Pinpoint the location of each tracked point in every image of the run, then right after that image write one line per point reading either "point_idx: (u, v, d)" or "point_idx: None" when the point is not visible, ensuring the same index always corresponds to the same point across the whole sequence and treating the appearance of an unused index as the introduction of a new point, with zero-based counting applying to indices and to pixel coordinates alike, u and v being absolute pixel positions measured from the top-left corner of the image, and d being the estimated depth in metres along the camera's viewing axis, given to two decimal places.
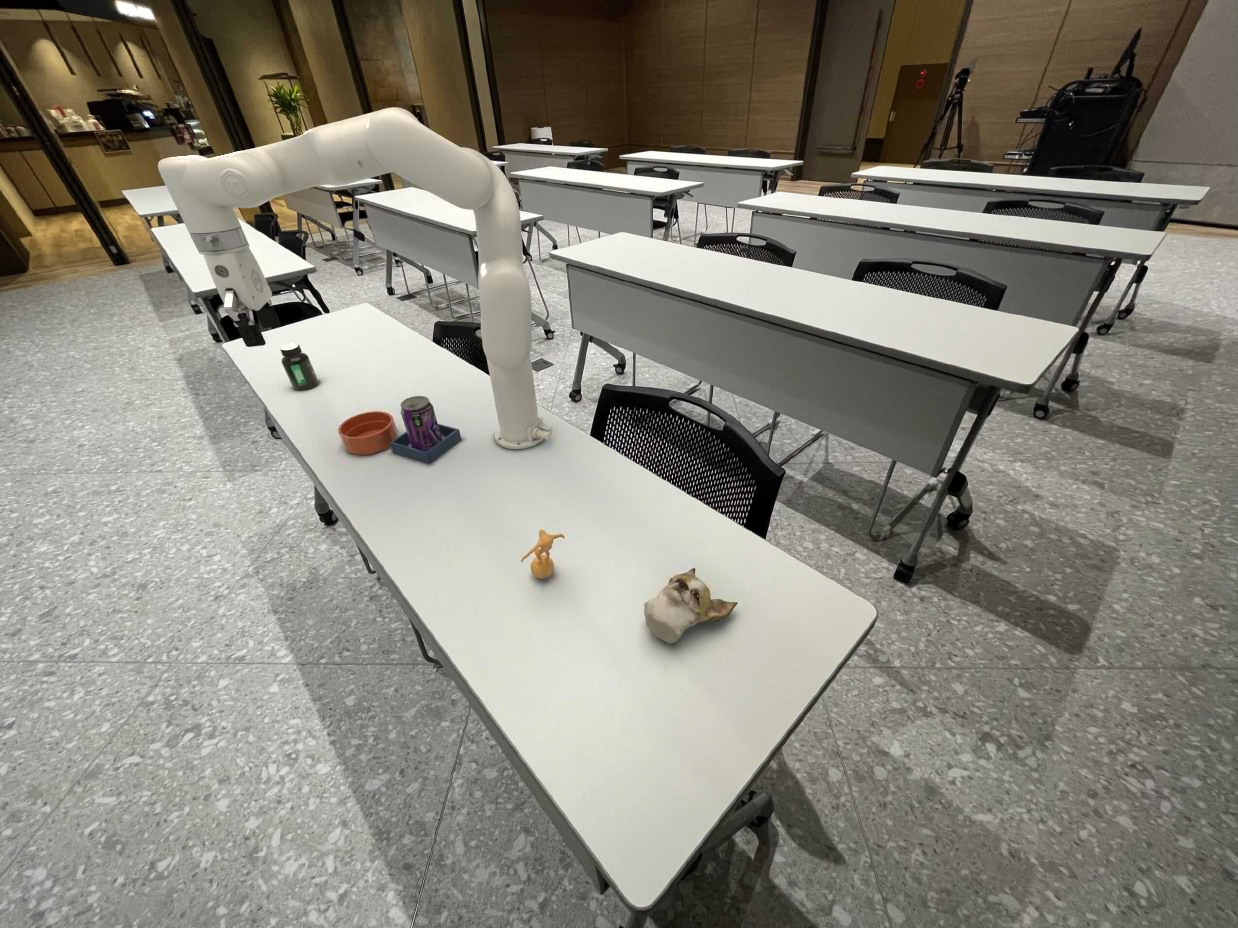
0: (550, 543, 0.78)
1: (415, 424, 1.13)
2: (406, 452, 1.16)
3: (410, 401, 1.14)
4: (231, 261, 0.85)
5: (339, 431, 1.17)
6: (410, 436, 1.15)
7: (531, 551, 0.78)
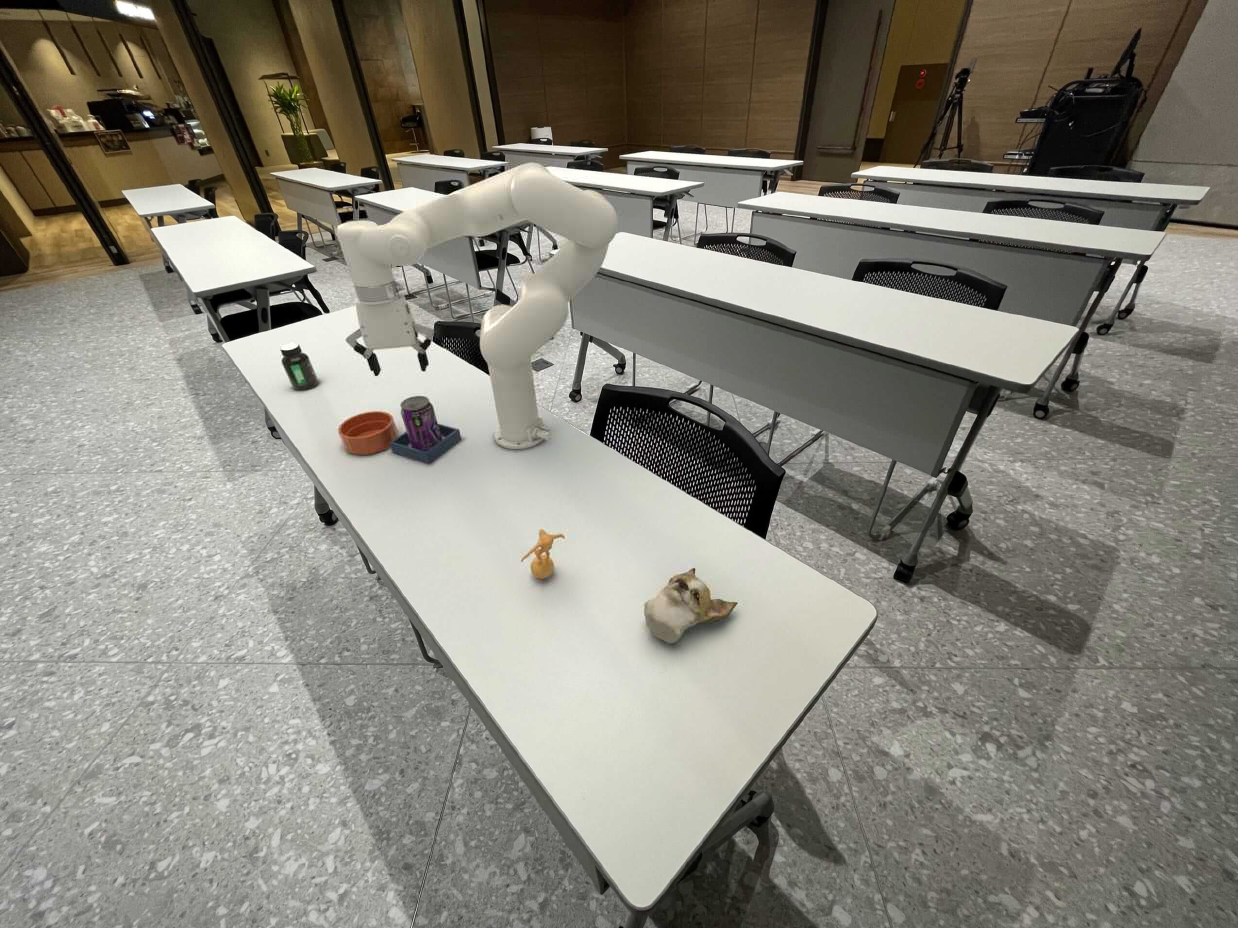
0: (550, 543, 0.78)
1: (415, 424, 1.13)
2: (406, 452, 1.16)
3: (410, 401, 1.14)
4: None
5: (339, 431, 1.17)
6: (410, 436, 1.15)
7: (531, 551, 0.78)
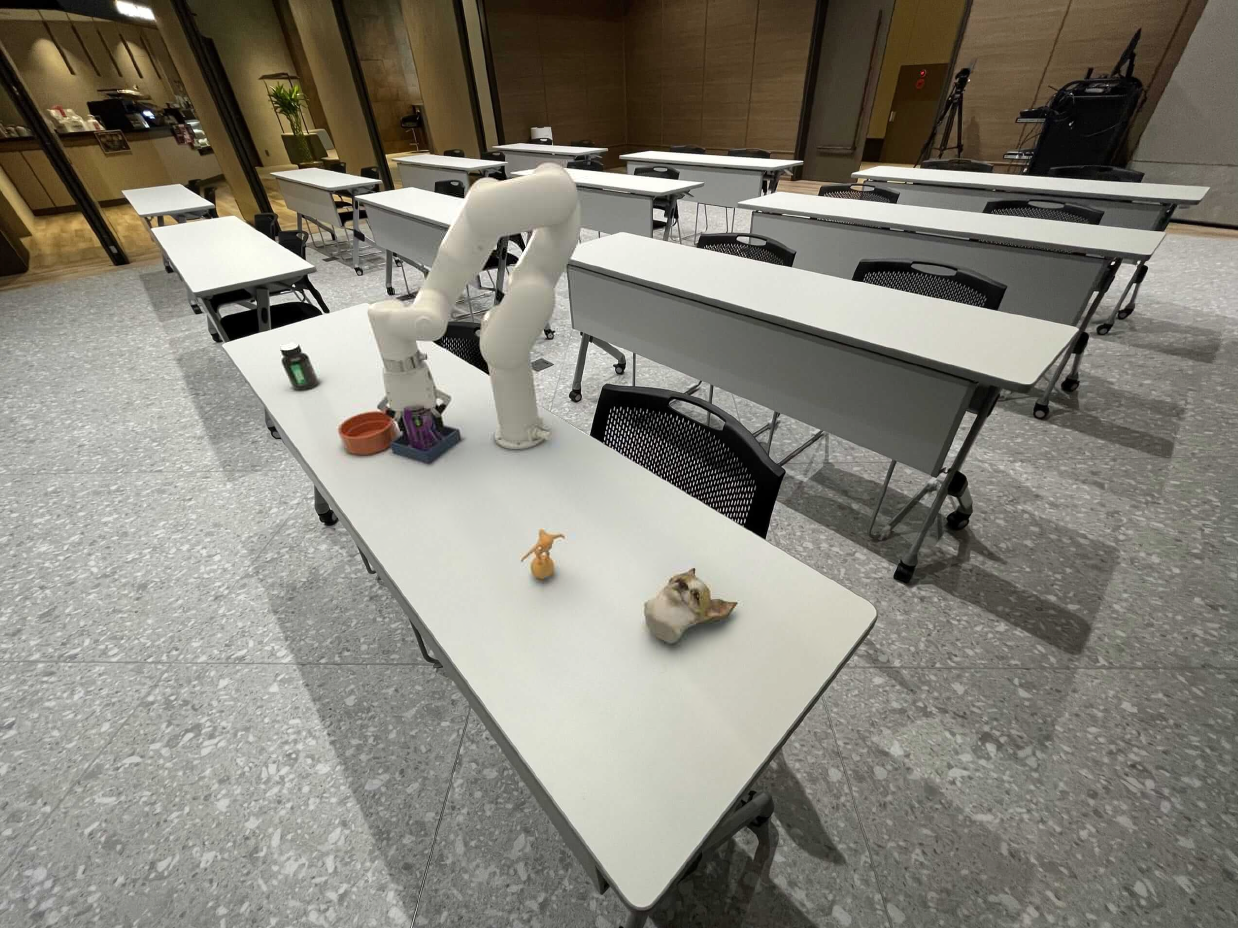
0: (550, 543, 0.78)
1: (415, 424, 1.13)
2: (406, 452, 1.16)
3: None
4: None
5: (339, 431, 1.17)
6: (410, 436, 1.15)
7: (531, 551, 0.78)
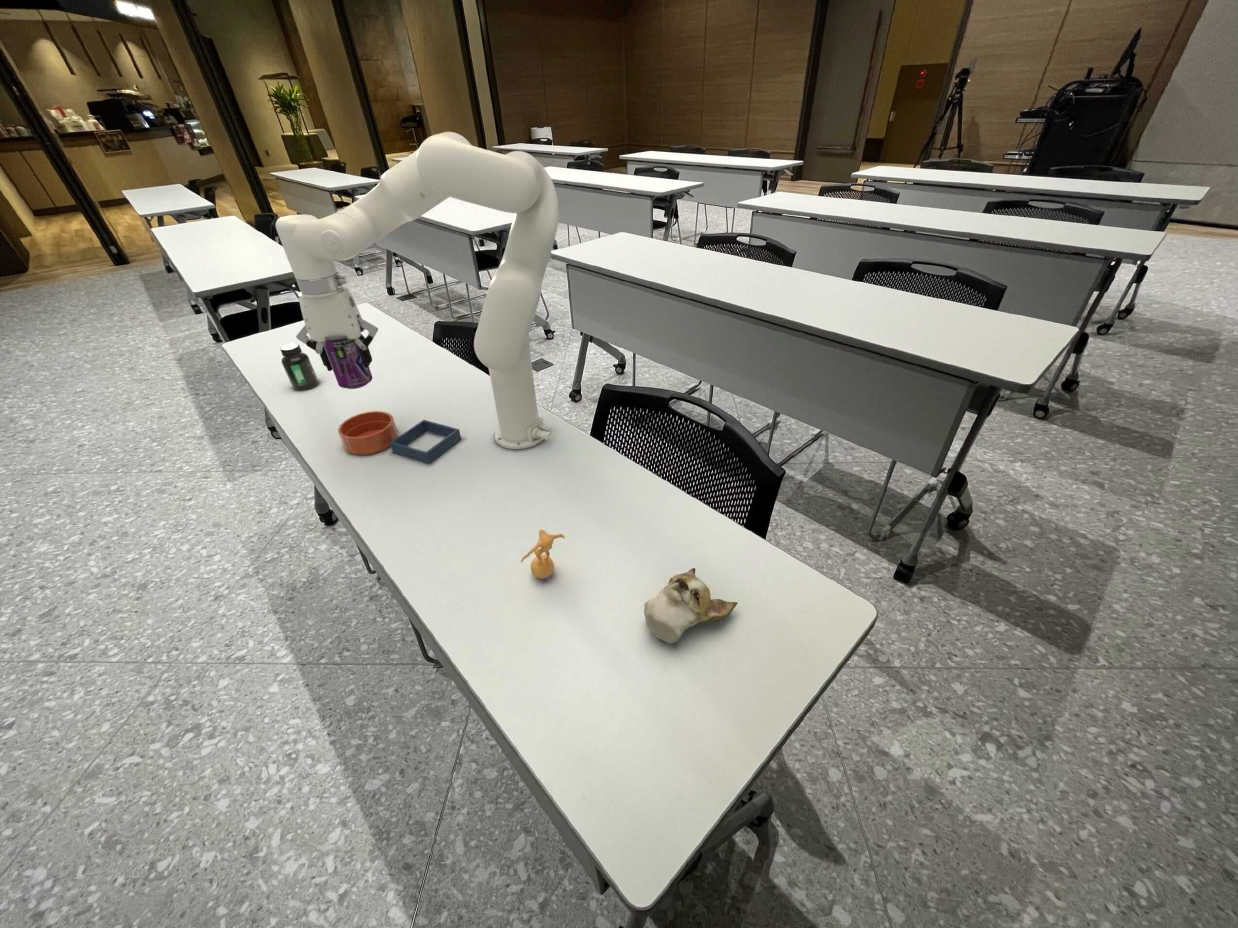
0: (550, 543, 0.78)
1: (337, 355, 1.05)
2: (406, 452, 1.16)
3: None
4: (349, 292, 1.04)
5: (339, 431, 1.17)
6: (334, 370, 1.08)
7: (531, 551, 0.78)
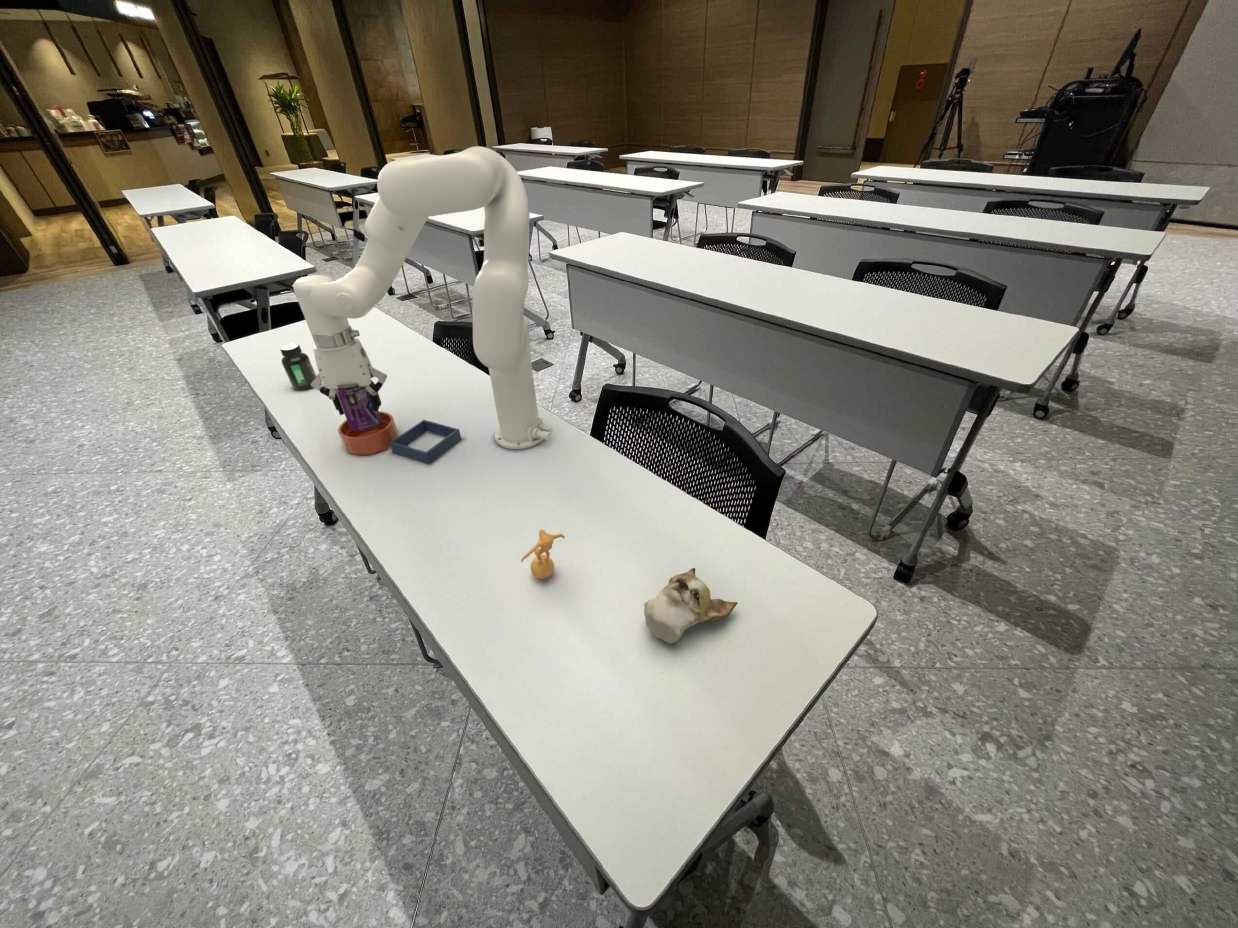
0: (550, 543, 0.78)
1: (349, 401, 1.12)
2: (406, 452, 1.16)
3: None
4: (360, 343, 1.10)
5: (339, 431, 1.17)
6: (346, 414, 1.15)
7: (531, 551, 0.78)
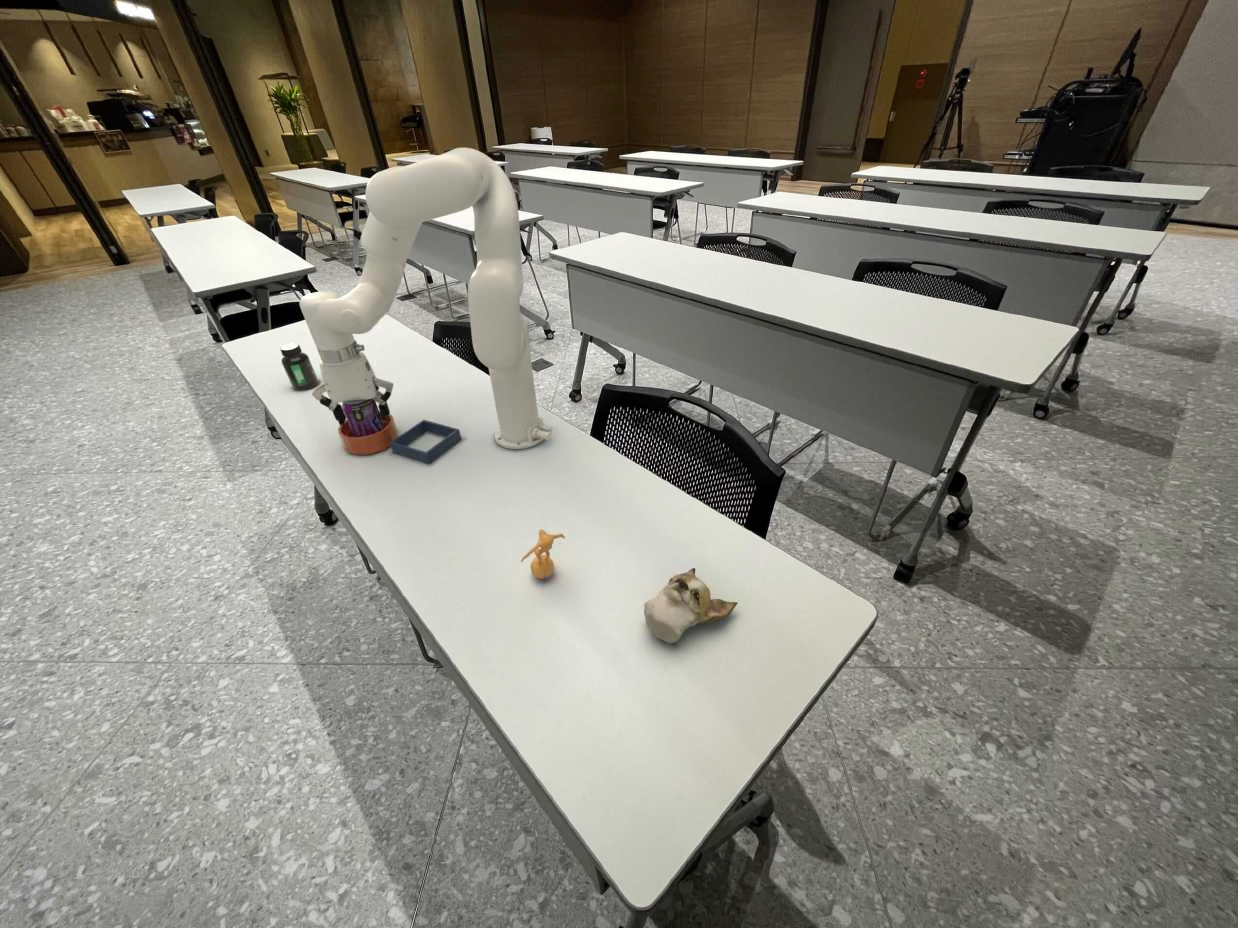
0: (550, 543, 0.78)
1: (355, 417, 1.14)
2: (406, 452, 1.16)
3: None
4: (365, 356, 1.12)
5: (339, 431, 1.17)
6: (352, 430, 1.17)
7: (531, 551, 0.78)
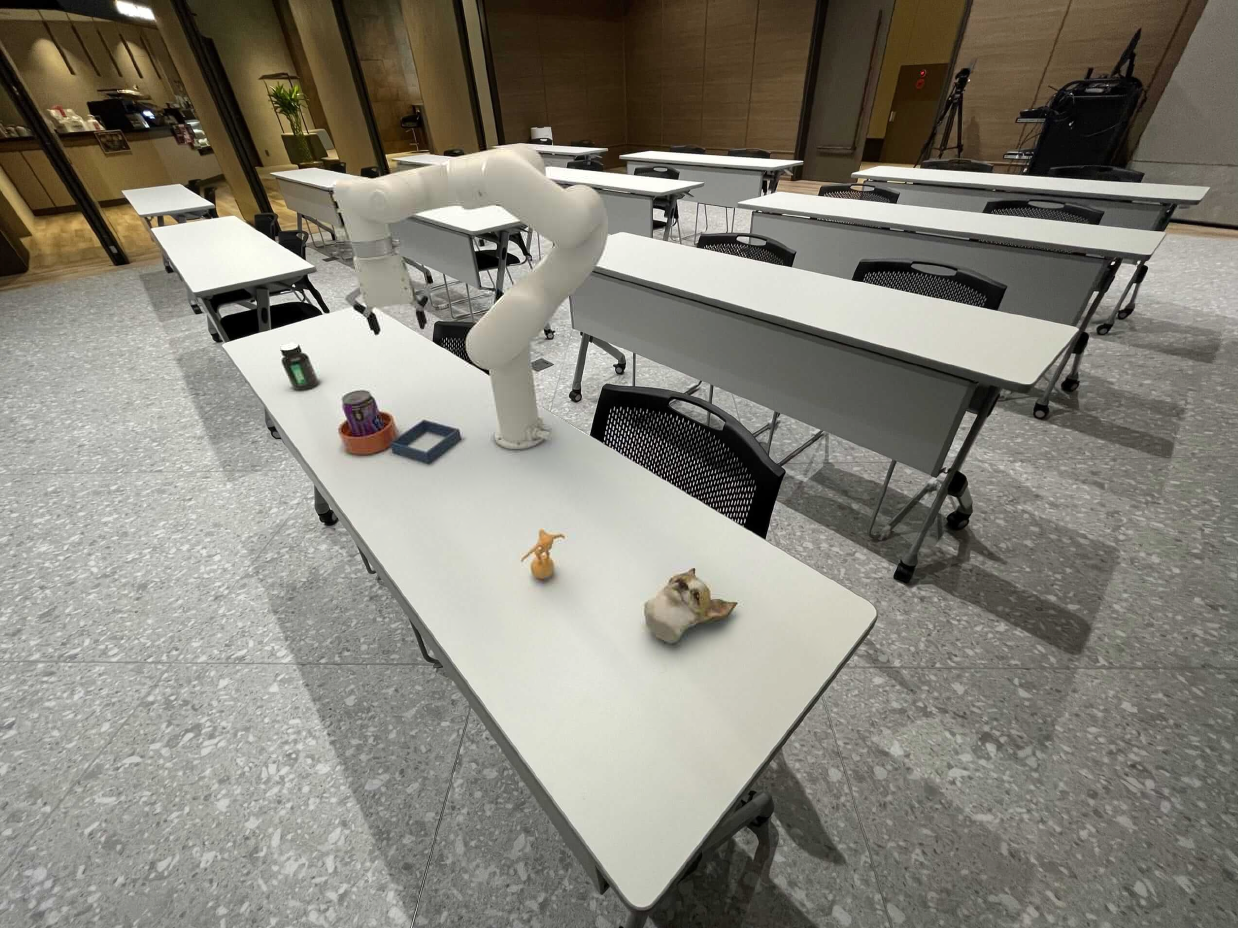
0: (550, 543, 0.78)
1: (355, 417, 1.14)
2: (406, 452, 1.16)
3: (352, 395, 1.16)
4: None
5: (339, 431, 1.17)
6: (352, 430, 1.17)
7: (531, 551, 0.78)
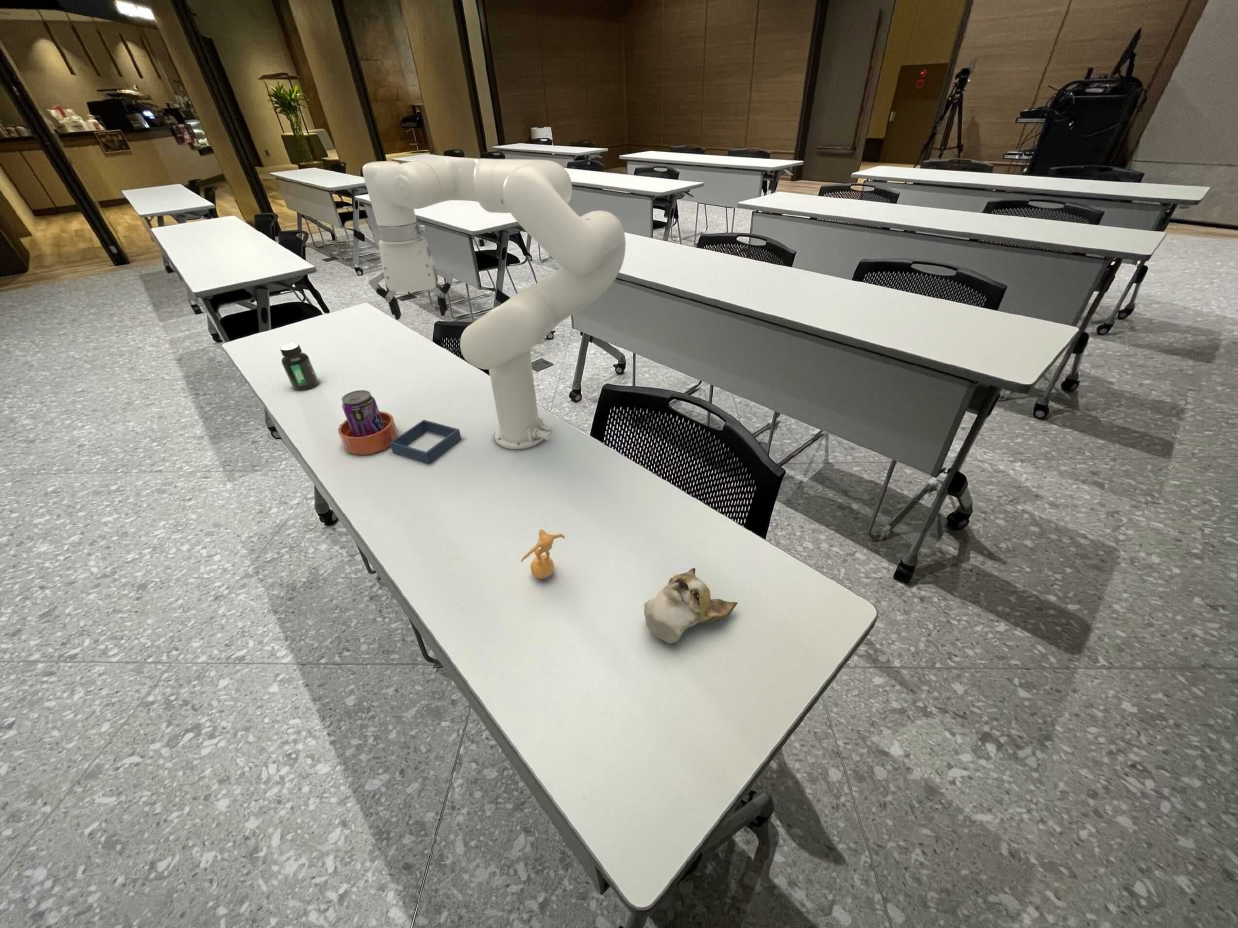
0: (550, 543, 0.78)
1: (355, 417, 1.14)
2: (406, 452, 1.16)
3: (352, 395, 1.16)
4: None
5: (339, 431, 1.17)
6: (352, 430, 1.17)
7: (531, 551, 0.78)
